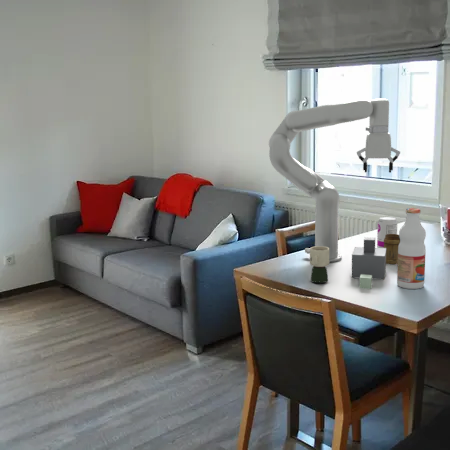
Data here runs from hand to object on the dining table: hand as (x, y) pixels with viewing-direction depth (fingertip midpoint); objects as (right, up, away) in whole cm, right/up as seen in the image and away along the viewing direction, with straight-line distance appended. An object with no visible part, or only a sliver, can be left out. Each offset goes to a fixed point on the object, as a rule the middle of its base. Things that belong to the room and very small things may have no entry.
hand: (377, 172), depth 249 cm
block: (-12, -44, -30) cm, 55 cm away
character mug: (-28, -43, -23) cm, 56 cm away
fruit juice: (+4, -44, -31) cm, 54 cm away
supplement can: (+8, -34, +16) cm, 38 cm away
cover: (-7, -41, -15) cm, 44 cm away
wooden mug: (+8, -37, -1) cm, 38 cm away
